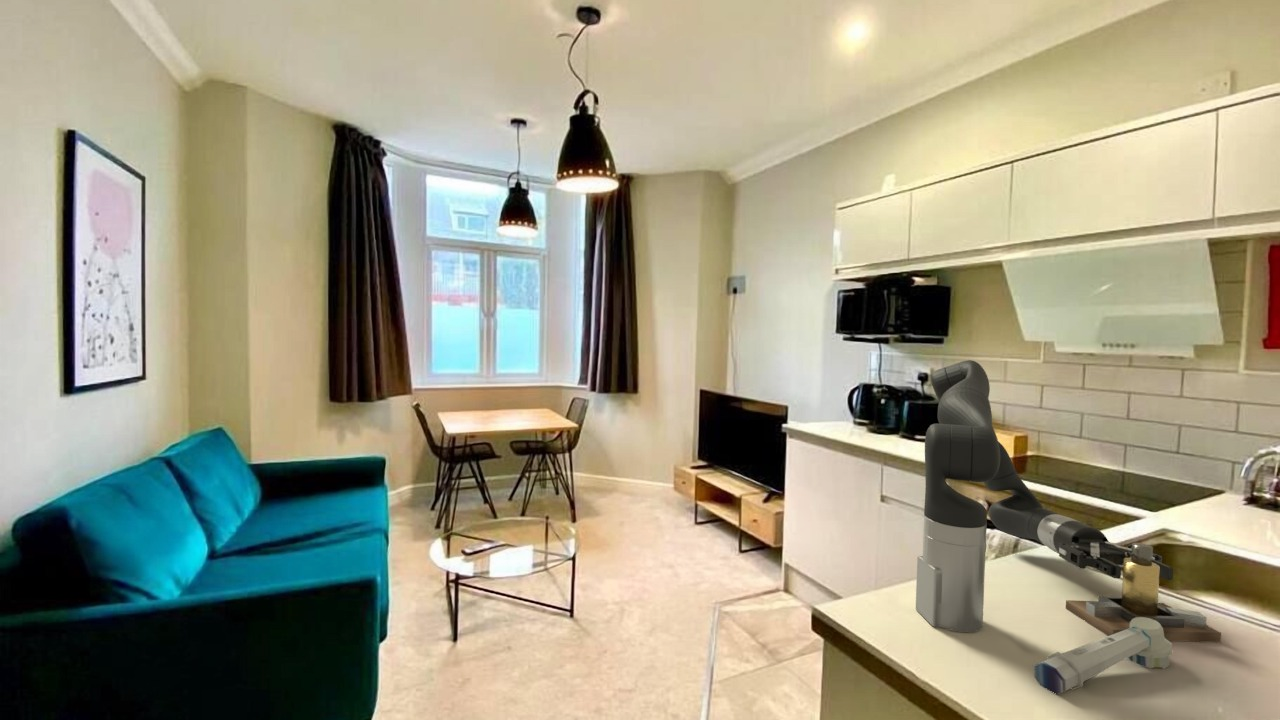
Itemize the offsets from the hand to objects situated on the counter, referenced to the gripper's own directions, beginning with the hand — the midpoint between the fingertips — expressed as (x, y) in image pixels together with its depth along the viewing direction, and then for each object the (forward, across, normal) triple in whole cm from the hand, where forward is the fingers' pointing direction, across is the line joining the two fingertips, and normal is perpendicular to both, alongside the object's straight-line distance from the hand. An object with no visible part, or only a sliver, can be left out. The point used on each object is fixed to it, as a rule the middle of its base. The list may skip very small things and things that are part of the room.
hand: (1144, 573), depth 92 cm
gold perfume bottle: (-1, 0, +8) cm, 8 cm away
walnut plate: (-1, 0, +9) cm, 9 cm away
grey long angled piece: (+14, -17, +10) cm, 24 cm away
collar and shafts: (-1, 0, +7) cm, 8 cm away
